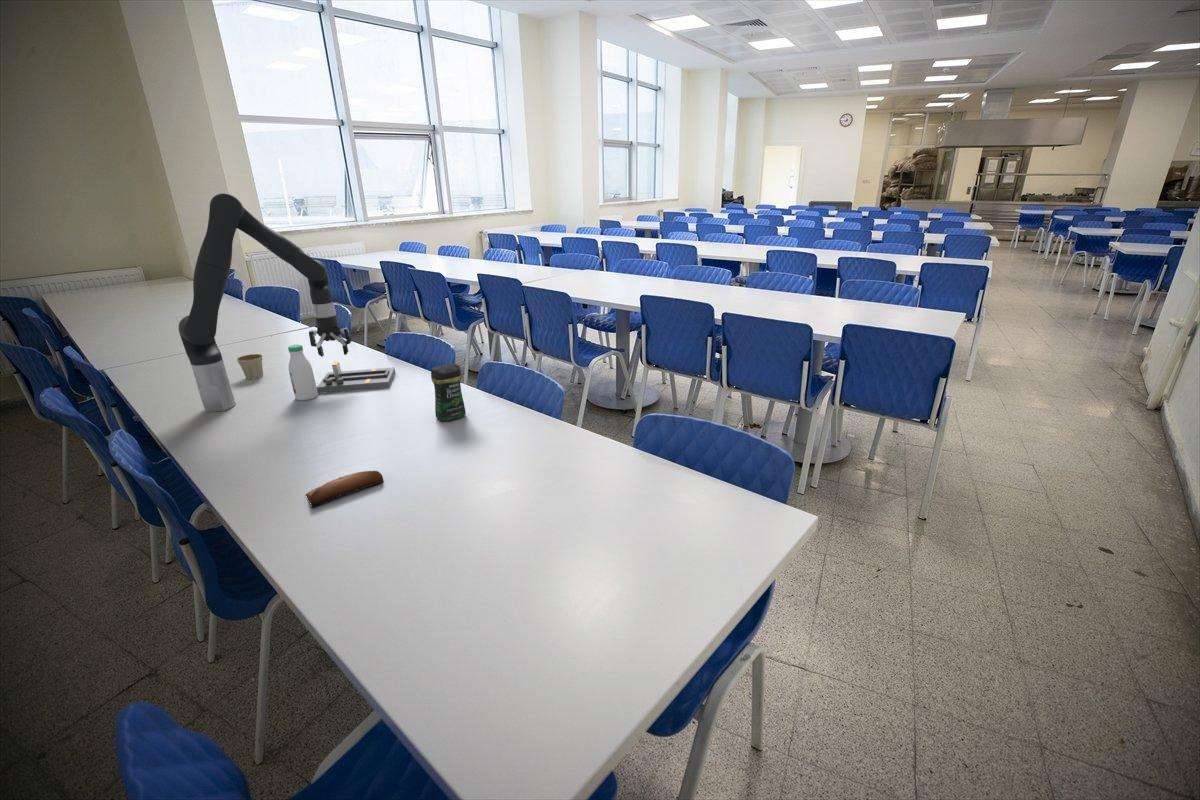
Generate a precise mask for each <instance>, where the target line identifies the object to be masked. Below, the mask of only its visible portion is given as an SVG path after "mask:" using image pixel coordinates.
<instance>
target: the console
mask: <svg viewBox="0 0 1200 800" xmlns="http://www.w3.org/2000/svg"><path fill="white" fill-rule="evenodd" d="M341 374H342V377H341V378H335V377H334V372H333V371H329V372H327V373H326V375H324V377H323V378H322V380H321V381H320V382H319V384H317V385H316V387H317V391H318V394H330V392H331V393H341V392H352V391H365V390H366V391H367V390H377V389H389V388H390V387H391V385H392V382H393V379H394V378H395V375H396V367H382V368H369V369H355V370H354V369H353V370H341Z"/></svg>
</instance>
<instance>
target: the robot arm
mask: <svg viewBox="0 0 1200 800" xmlns="http://www.w3.org/2000/svg"><path fill="white" fill-rule="evenodd" d="M208 211H209V212H208V220H207V229H206V232H205V236H204V238H203V241H202V243H201V246H200V249H199V252H198V255H197V259H196V262H195V266H194V272H193V279H192V281H193V282H192V283H193V284H192V285H193V286H192V288H193V290H192V291H193V297H192V298H193V299H192V306H191V309H190V311H189V314H188V315H186V316H184V317H183V318H181V319H180V321H179V322H178V334H179V337H180V339H181V342H182V345H183V348H184V351H185V353H186V356H187V357H188V361H189V363H190V366H191V369H192V373H193V377H194V378H195V382H196V385H197V390H198V392H199V393H198V394H199V396H200V399H201V402H202V406H203V408H204V413H210V412H211V413H213V412H215V413H216V412H223V411H226V410H228V409H232V408H233V407H234V406H236V401H235V398H234V397H235V396H234V393H233V391H232V386H231V384H230V379H229V377H228V373H227V370H226V367H225V362H224V358H223V356H222V353H221V350H220V349H219V347H218V344H217V342H216V338H215V337H216V335H217V328H218V327H217V326H218V317H219V311H220V306H221V303H222V300H223V298H224V294H225V289H226V285H227V284H228V283H227V282H228V279H229V275H230V270H231V265H232V260H233V259H232V257H233V241H234V238H235V235H236V230H237V229H238V230H240V231H241V232H243V233H244V234H246V235H248V236H249V237H251V238H252V239H253V240H256V242H258V243H259V244H261V245H262V246H263V247H265V249H267V250H268V251H270V252H271V253H272V254H274V255H275V256H276V257H278V258H280V259H281V260H282V261H284V262H285V263H287V264H288V265H290V266H292V267H293V268H294V269H295V270H296V271H298V272H299V273H300V274H301V275H303V276H304V277H306V278H307V281H308V285H309V294H310V295H309V296H310V300H311V304H312V312H313V316H314V320H315V325H316V330H314V329H310V330H309V331H308V338H309V342H310V346H311V347H315V348H316V349H317V353H318V356H320V357H321V358H323V357H324V356H325V354H324V348H323V346H322V344H323V343H324V341H325V342H329V341H333V342H334V341H337V342H338V343H340V344H341V345H342V351H343V355H344V356H346V355H348V353H349V348H348V345H350V344H351V343H352V341H353V340H352V337H351V333H350V329H349V328H348V327H344V328H340V326H339V322H338V317H337V311H336V308H335V304H334V300H333V296H332V292H331V290H330V285H329V276H328V272H327V267H326V265H325V264H324V263H323V262H322V261H320V260H318V259H314V258H312V257H311V256H310V255H308V254H306V253H305V252H304V250H303V249H302V248H301V247H299V246H297V245H296V244H295V243H294V242H292V241H291V240H289V239H288V238H287V237H286V236H284V235H282V234H281V233H279V232H277V231H276V230H274V229H273V228H270V227H269V226H268V225H266V224H265V223H263V222H261V221H260V220H259V219H257V218H256V217H255V216H254V215H253V214H252V213H250V211H248V209H246V208H245V207H244V206H243V204H242V202H241V201H240V200H239V199H238V198H237V197H236V196H235V195H232V194H230V193H225V192H221V193H218V194H215V195H214V196H213V197H212V198H211V199H210V202H209V210H208ZM341 333H342V334H343V335H344V336H345V338H344V337H343V336H342V335H340V334H341ZM317 335H318V336H319V340H318V342H316V341H317V340H316V336H317ZM345 339H346V340H345Z"/></svg>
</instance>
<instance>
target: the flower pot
mask: <svg viewBox="0 0 1200 800" xmlns="http://www.w3.org/2000/svg"><path fill="white" fill-rule="evenodd" d="M263 356H264V355H263V354H262V353H259V354H258V353H252V354H245V355H241V356H238V357H237V358H235V360H236V362H237V363H238V365H239V366H240V367H241V370H242V372H243V374H244V376H245V379H246V380H253V379H255V380H256V379H260V378H263V376H264V369H263Z"/></svg>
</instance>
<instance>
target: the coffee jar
mask: <svg viewBox="0 0 1200 800" xmlns="http://www.w3.org/2000/svg"><path fill="white" fill-rule="evenodd" d="M462 376H463V375H462V371H461V367H460V365H459V364H458V363H455V362H452V363H447V364H442V365H438V366H433V367H431V369H430V378H431V382H432V384H433V387H434V397H435V398H434V400H435V401H434V405H435V406H434V407H435V409H434V410H435V411H434V413H435V417H436V419H437V420H439V421H441V422H451V421H455V420H458V419H460V418H463V417H465V416H466V414H467V413H466V406H465V401H464V398H463V394H462V387H461V380H462Z"/></svg>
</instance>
